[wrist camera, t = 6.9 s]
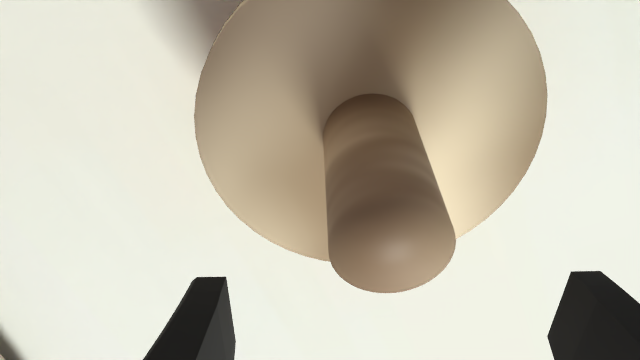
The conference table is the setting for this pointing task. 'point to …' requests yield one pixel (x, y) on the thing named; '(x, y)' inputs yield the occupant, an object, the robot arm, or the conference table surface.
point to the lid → (370, 127)
